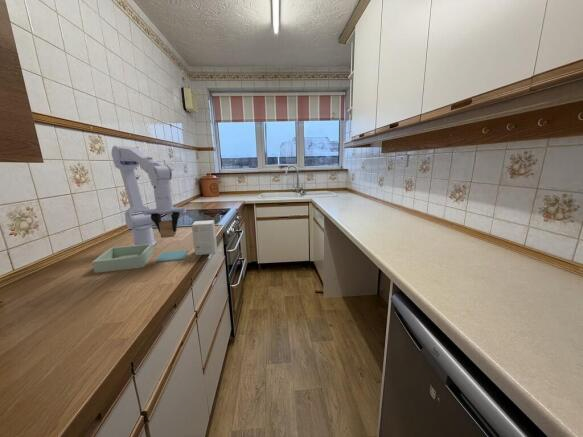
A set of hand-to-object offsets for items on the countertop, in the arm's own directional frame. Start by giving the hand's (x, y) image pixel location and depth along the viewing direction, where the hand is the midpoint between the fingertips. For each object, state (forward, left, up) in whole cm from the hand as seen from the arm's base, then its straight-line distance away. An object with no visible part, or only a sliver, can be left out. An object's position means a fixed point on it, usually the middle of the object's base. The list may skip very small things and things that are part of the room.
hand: (168, 231), depth 96 cm
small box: (-1, +13, -11) cm, 17 cm away
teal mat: (0, 0, -10) cm, 10 cm away
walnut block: (0, 0, -2) cm, 2 cm away
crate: (+1, -16, -11) cm, 19 cm away
